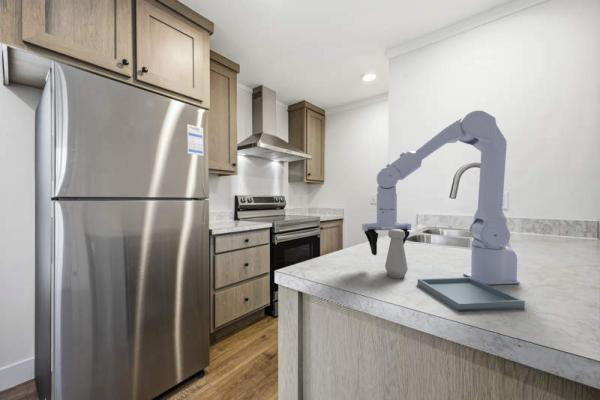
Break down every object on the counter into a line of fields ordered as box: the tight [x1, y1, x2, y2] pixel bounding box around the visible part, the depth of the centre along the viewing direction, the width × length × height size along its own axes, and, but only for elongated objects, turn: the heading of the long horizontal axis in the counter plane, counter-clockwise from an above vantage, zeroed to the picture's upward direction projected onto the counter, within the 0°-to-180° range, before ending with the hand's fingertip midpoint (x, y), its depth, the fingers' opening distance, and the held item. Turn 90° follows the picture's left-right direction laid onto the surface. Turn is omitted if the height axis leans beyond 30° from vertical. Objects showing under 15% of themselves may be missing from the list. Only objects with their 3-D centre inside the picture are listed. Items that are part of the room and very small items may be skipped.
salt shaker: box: [384, 229, 409, 279], centre depth 68 cm, size 6×6×13 cm
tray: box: [417, 276, 526, 313], centre depth 55 cm, size 14×14×2 cm
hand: (386, 254), depth 74 cm, fingers open, 7 cm apart
